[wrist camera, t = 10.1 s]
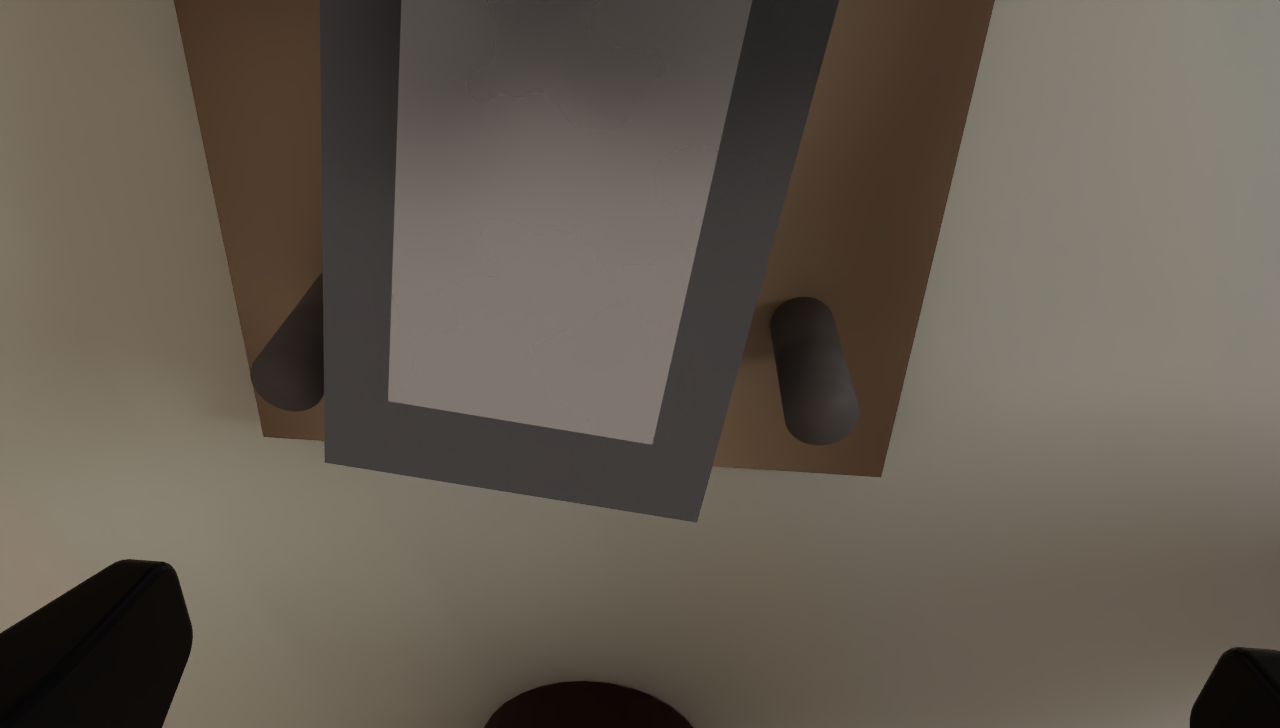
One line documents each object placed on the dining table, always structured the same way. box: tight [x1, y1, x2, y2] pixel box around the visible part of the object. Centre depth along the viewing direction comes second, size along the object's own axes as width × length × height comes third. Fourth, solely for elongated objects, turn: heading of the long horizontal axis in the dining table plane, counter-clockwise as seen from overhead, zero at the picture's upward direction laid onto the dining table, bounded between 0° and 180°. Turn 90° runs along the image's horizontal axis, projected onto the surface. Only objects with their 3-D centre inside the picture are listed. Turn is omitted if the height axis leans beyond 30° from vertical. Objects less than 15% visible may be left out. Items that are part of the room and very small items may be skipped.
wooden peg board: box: [174, 0, 995, 477], centre depth 15 cm, size 13×14×4 cm
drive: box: [320, 0, 839, 522], centre depth 14 cm, size 6×10×4 cm, turn 170°
